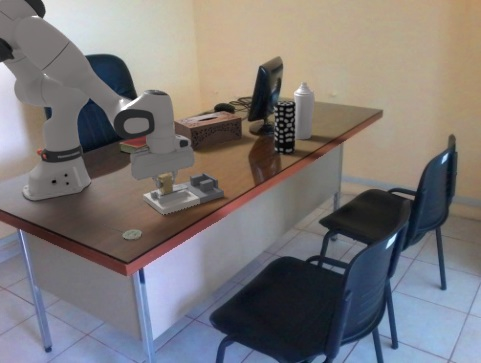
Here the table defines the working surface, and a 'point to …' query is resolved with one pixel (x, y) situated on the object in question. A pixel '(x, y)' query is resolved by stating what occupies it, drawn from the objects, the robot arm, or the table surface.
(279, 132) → the white-spotted black cylinder
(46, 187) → the robot arm
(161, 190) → the bolt
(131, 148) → the hardcover book
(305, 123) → the spray can
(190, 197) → the plate
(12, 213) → the table surface
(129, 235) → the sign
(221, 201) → the table surface
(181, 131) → the tissue box cover
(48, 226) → the table surface
